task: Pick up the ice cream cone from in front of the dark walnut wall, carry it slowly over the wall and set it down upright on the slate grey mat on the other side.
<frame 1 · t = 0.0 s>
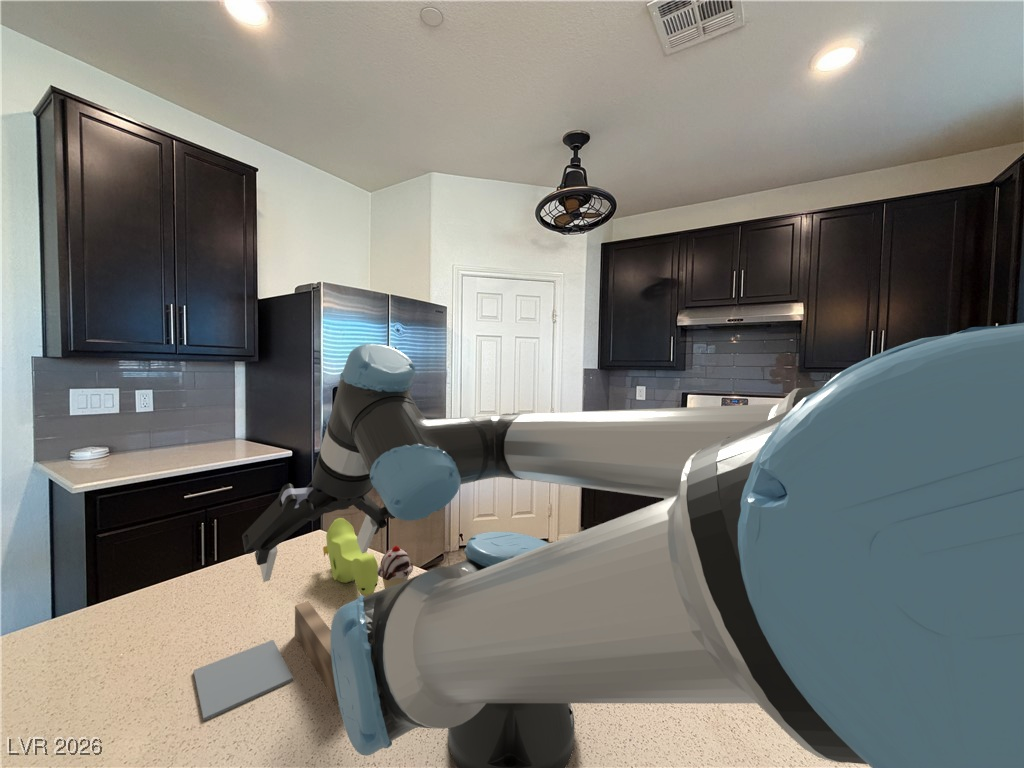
hand: (316, 558, 60), 15 cm above the table, tool tilted 35°, fingers open, 13 cm apart
walnut wall: (322, 664, 59), on the table
ice cream cone: (394, 637, 66), on the table
grey mat: (242, 676, 57), on the table
toy: (349, 583, 83), on the table
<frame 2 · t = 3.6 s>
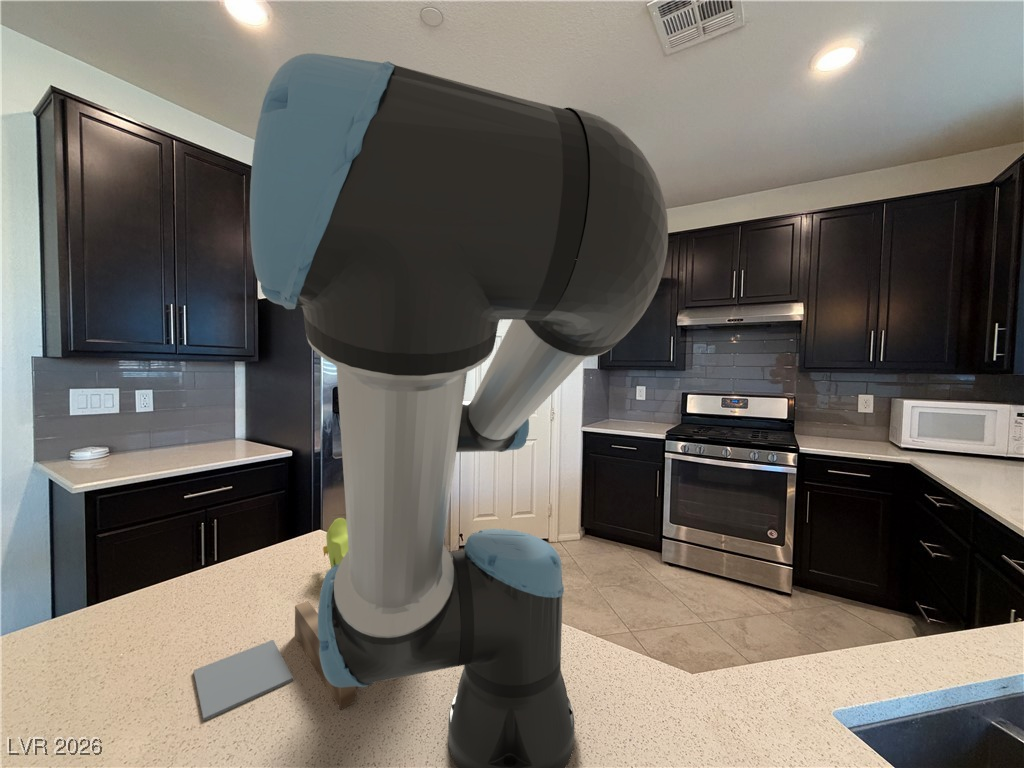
hand: (394, 620, 66), 3 cm above the table, tool pointing down, fingers closed on ice cream cone, 4 cm apart
ice cream cone: (394, 637, 66), on the table, touching gripper
everything else where it was.
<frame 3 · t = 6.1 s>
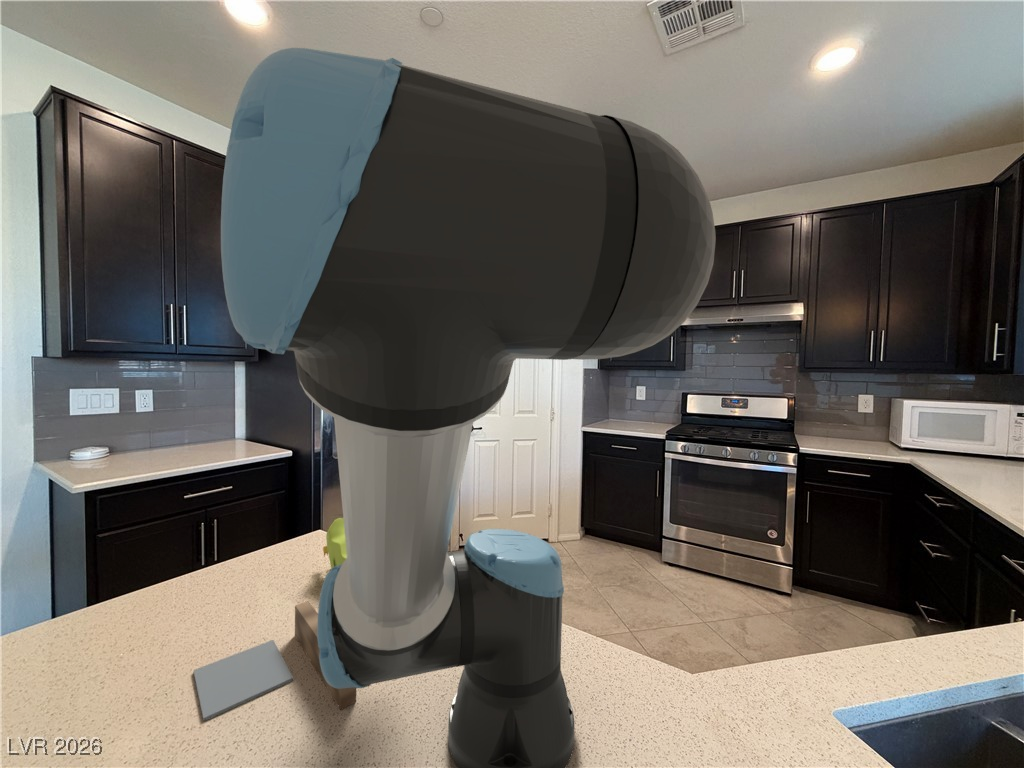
hand: (394, 536, 66), 17 cm above the table, tool pointing down, fingers closed on ice cream cone, 4 cm apart
ice cream cone: (394, 553, 66), point 14 cm above the table, touching gripper
everything else where it was.
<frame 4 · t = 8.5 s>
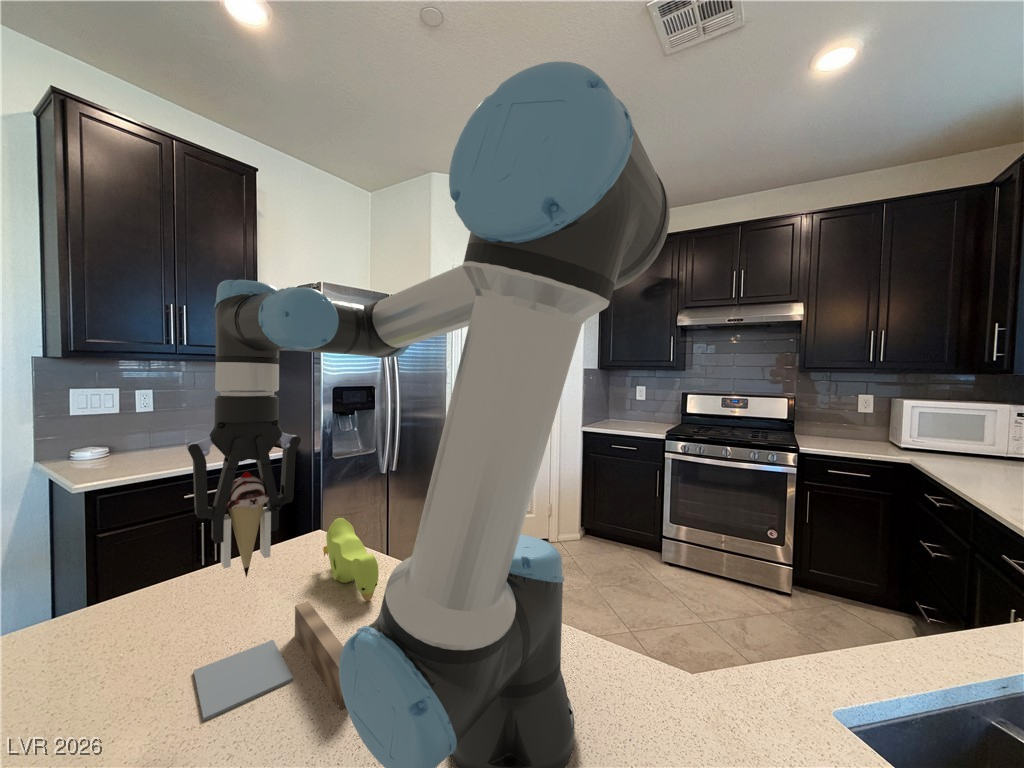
hand: (246, 558, 57), 17 cm above the table, tool pointing down, fingers closed on ice cream cone, 4 cm apart
ice cream cone: (245, 578, 57), point 14 cm above the table, touching gripper
everything else where it was.
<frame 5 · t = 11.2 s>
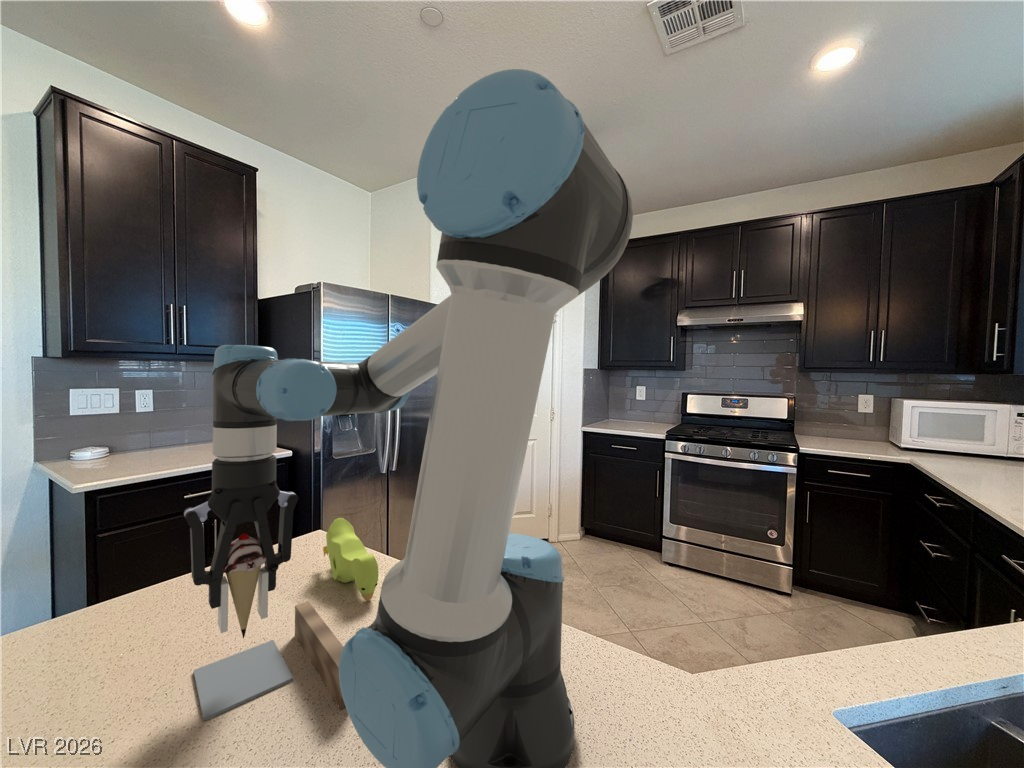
hand: (243, 620, 57), 8 cm above the table, tool pointing down, fingers closed on ice cream cone, 4 cm apart
ice cream cone: (243, 640, 57), point 5 cm above the table, touching gripper
everything else where it was.
when the fingers open (3 cm above the table, at t = 13.5 s): ice cream cone stays where it is, resting on grey mat.
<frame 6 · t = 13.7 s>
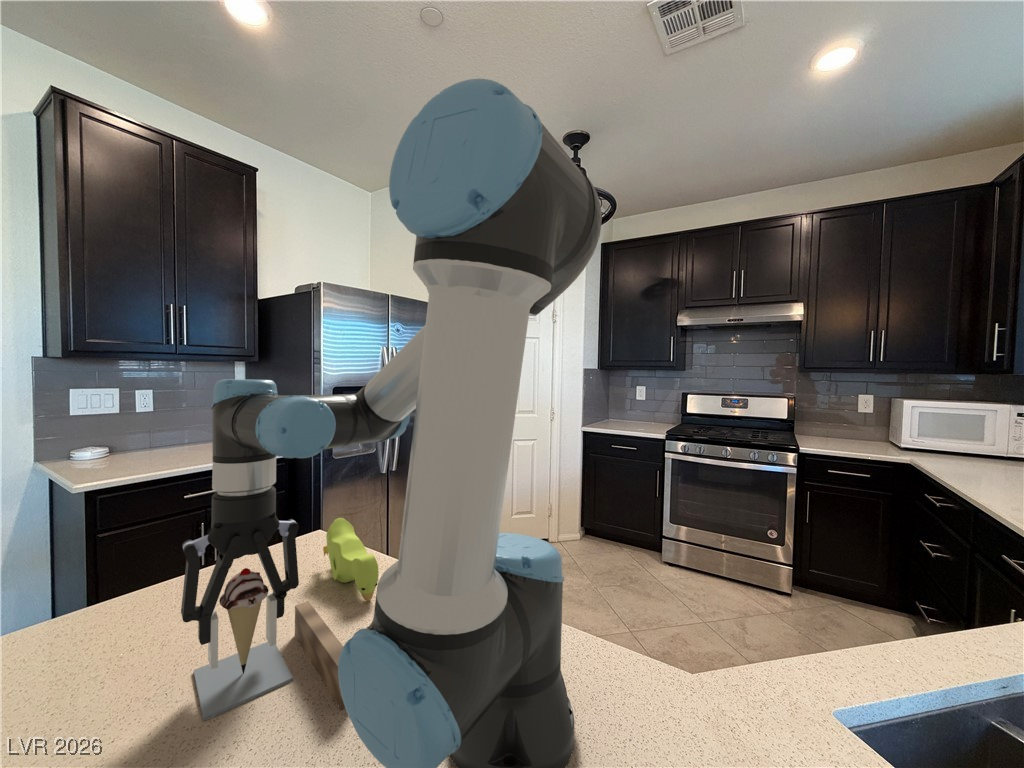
hand: (243, 651, 57), 4 cm above the table, tool pointing down, fingers open, 6 cm apart
ice cream cone: (242, 675, 57), resting on grey mat
everything else where it was.
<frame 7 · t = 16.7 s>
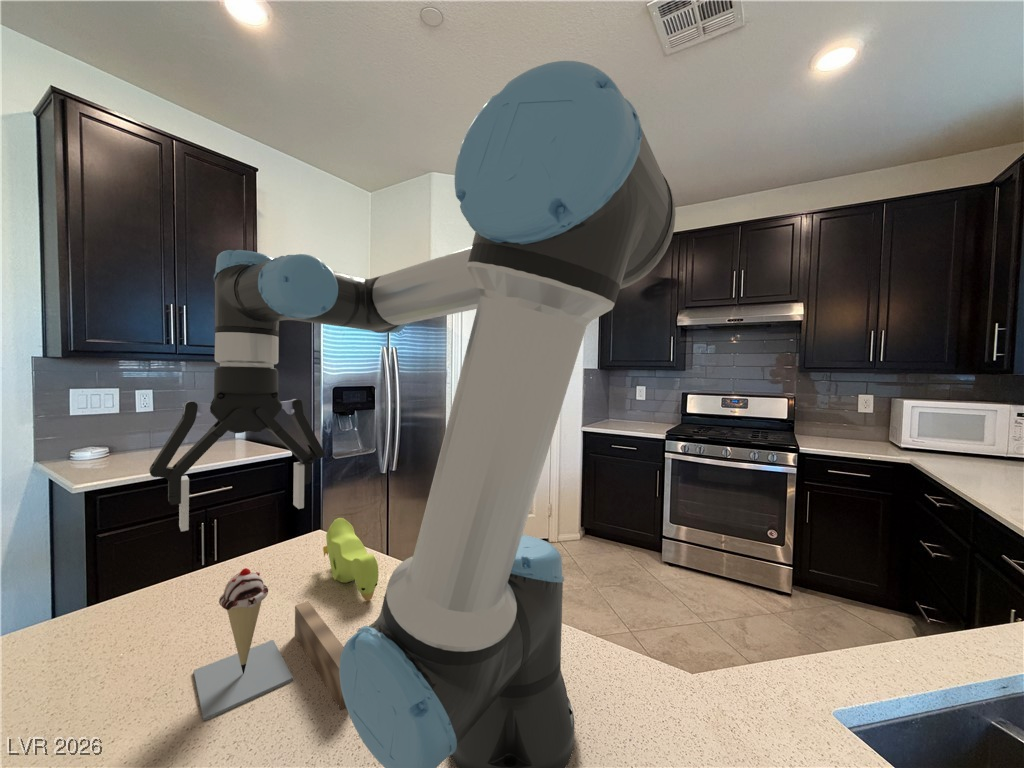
hand: (245, 516, 56), 23 cm above the table, tool pointing down, fingers open, 13 cm apart
nothing on the table moved.
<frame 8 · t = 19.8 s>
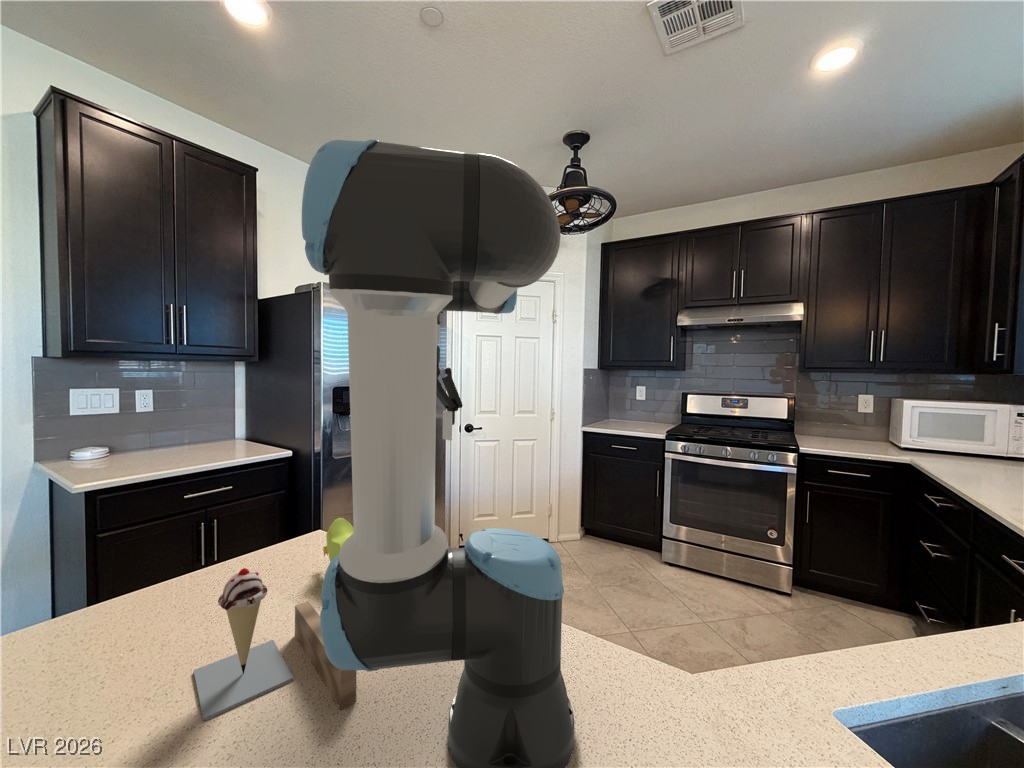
hand: (421, 442, 87), 29 cm above the table, tool pointing down, fingers open, 13 cm apart
nothing on the table moved.
at the end: ice cream cone inside the target area on the grey mat (0.0 cm from its centre), point 0.2 cm above the grey mat's base; ice cream cone tilted 0°; the gripper is holding nothing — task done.
